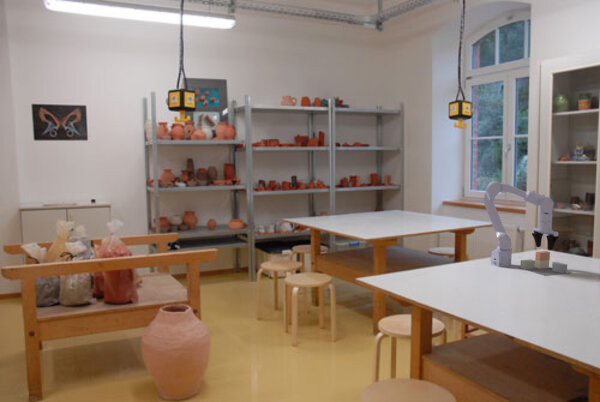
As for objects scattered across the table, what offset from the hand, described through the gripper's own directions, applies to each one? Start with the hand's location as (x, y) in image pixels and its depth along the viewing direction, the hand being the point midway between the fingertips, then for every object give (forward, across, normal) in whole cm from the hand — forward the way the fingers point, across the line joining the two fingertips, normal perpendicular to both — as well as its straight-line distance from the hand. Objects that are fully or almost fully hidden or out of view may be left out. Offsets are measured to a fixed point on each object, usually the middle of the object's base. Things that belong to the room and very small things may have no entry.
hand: (544, 248), depth 247 cm
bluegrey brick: (+10, -8, -2) cm, 13 cm away
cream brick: (+10, +1, 0) cm, 10 cm away
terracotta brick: (+6, +1, 0) cm, 6 cm away
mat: (+10, -5, +4) cm, 12 cm away
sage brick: (+10, +2, +8) cm, 13 cm away
